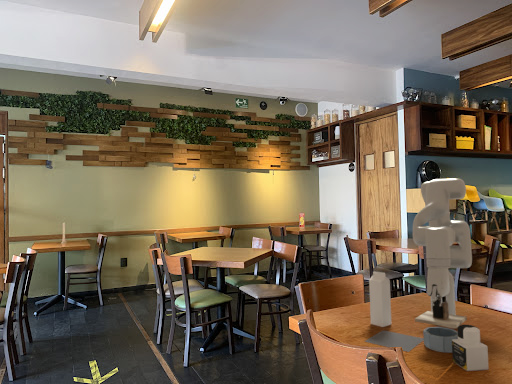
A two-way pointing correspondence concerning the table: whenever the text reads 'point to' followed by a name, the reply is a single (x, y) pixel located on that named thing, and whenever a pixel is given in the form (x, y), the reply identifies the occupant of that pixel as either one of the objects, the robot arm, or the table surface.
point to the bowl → (439, 338)
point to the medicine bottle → (469, 349)
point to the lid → (447, 321)
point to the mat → (395, 340)
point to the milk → (380, 299)
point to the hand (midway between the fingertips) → (440, 315)
